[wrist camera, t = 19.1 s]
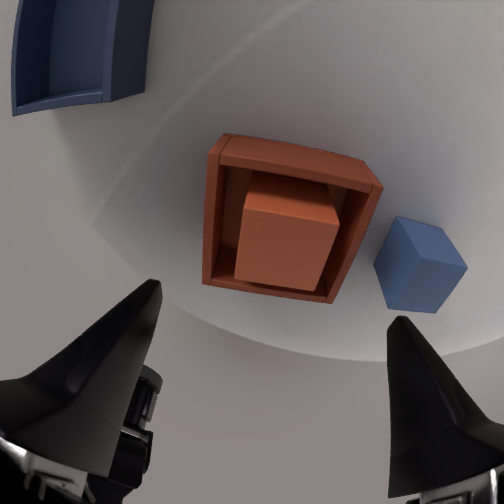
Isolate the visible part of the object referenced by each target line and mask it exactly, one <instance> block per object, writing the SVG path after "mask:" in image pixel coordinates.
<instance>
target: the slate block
mask: <svg viewBox="0 0 504 504" xmlns="http://www.w3.org/2000/svg"><path fill="white" fill-rule="evenodd" d="M374 268H375V271H376V274H377V277H378V280H379V283H380V286H381V289H382V292H383V295H384V298H385V301H386V304H387V308H388V309H392V310H402V311H413V312H424V313H436V312H437V311H438V309H439V308H440V307H441V306H442V304H443V303H444V302H445V300H446V299H447V298H448V296H449V295H450V294H451V292H452V291H453V289H454V288H455V287H456V285H457V284H458V282H459V281H460V279H461V278H462V276H463V275H464V273H465V272H466V270H467V269H468V267H467V265H466V263H465V262H464V260H463V259H462V257H461V256H460V254H459V253H458V251H457V250H456V248H455V247H454V245H453V244H452V242H451V241H450V240H449V238H448V237H447V235H446V234H445V233H444V231H443V230H442V229H440V228H437V227H434V226H430V225H427V224H423V223H420V222H416V221H413V220H409V219H405V218H402V217H398V216H396V218H395V221H394V223H393V225H392V227H391V229H390V232H389V234H388V236H387V238H386V240H385V242H384V244H383V246H382V248H381V251H380V253H379V255H378V257H377V259H376V261H375V263H374Z"/></svg>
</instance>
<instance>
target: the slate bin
mask: <svg viewBox="0 0 504 504" xmlns="http://www.w3.org/2000/svg"><path fill="white" fill-rule="evenodd" d="M153 5H154V0H19V4H18V9H17V15H16V21H15V28H14V36H13V46H12V62H11V99H12V115H13V117H14V116H17V115H22V114H27V113H32V112H37V111H42V110H48V109H54V108H60V107H67V106H75V105H83V104H93V103H102V102H103V103H105V102H112V101H115V100H119V99H122V98H125V97H128V96H132V95H135V94H139V93H143V92H144V89H145V73H146V60H147V49H148V40H149V32H150V24H151V17H152V11H153Z"/></svg>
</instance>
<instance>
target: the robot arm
mask: <svg viewBox="0 0 504 504" xmlns="http://www.w3.org/2000/svg"><path fill="white" fill-rule="evenodd" d="M162 299H163V295H162V288H161V283H160V281H159V280H154V279H148V280H147V281H146V282H144V283H143V284H142V285H140V286H139V287H138V288H137V289H136V290H134V291H133V292H132V293H131V294H129V295H128V296H127V297H126V298H124V299H123V300H122V301H121V302H119V303H118V304H117V305H116V306H115V307H113V308H112V309H111V310H110V311H108V312H107V313H106V314H105V315H104V316H103V317H101V318H100V319H99V320H98V321H96V322H95V323H94V324H93V325H92V326H91V327H89V328H88V329H87V330H86V331H85V332H84V333H82V336H81V335H80V336H79V337H78V338H76V339H75V340H74V341H73V342H72V343H70V344H69V345H68V346H67V347H66V348H64V349H63V350H62V351H61V352H59V353H58V354H56V355H55V356H54V357H52V358H51V359H50V360H48V361H47V362H45V363H44V364H42V365H41V366H40V367H38V368H37V369H36V370H34V371H33V372H31V373H30V374H28V375H26V376H24V377H22V378H18V379H11V380H3V381H0V504H122V500H123V498H124V497H125V496H126V495H128V494H129V493H130V492H131V491H132V490H133V489H137V488H138V487H139V486H140V485H141V483H142V475H143V474H145V473H146V471H147V469H148V466H149V463H150V456H151V447H152V439H153V432H151V431H146V430H144V428H145V424H146V421H147V422H150V421H151V418H152V414H153V411H154V407H155V403H156V400H157V395H156V393H155V391H154V388H153V386H152V384H151V382H150V380H149V379H147V378H144V377H140V376H139V374H140V371H141V368H142V365H143V363H144V360H145V357H146V354H147V352H148V349H149V346H150V344H151V341H152V338H153V334H154V330H155V327H156V323H157V319H158V315H159V311H160V307H161V304H162ZM387 367H388V368H387V370H388V382H389V397H390V422H391V452H390V454H391V456H390V476H389V489H388V498H395V497H401V496H406V495H411V494H416V493H420V497H418V498H415V499H412V500H409V501H407V502H406V504H504V425H502V424H499V423H495V422H493V421H491V420H490V419H488V418H487V417H486V416H485V414H484V413H483V412H482V411H481V409H480V408H479V407H478V406H477V405H476V403H475V402H474V401H473V400H472V398H471V397H470V396H469V395H468V393H467V392H466V391H465V390H464V388H463V387H462V386H461V384H460V383H459V381H458V380H457V379H456V378H455V376H454V375H453V373H452V372H451V371H450V369H449V368H448V367H447V365H446V364H445V363H444V361H443V360H442V359H441V358H440V356H439V355H438V354H437V352H436V351H435V350H434V349H433V347H432V346H431V345H430V344H429V342H428V341H427V340H426V339H425V337H424V336H423V335H422V334H421V333H420V331H419V330H418V329H417V328H416V327H415V325H414V324H413V323H412V322H411V321H410V319H409V318H408V317H406V316H397V317H396V318H395V320H394V321H393V322H392V324H391V325H390V326H389V328H388V330H387ZM121 430H123V431H126V432H128V433H131V434H133V435H136V436H139V438H137V437H135V436H132V435H129V434H127V433H124V432H122V431H121Z"/></svg>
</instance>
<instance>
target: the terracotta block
mask: <svg viewBox="0 0 504 504" xmlns="http://www.w3.org/2000/svg"><path fill="white" fill-rule="evenodd" d="M339 226H340V223H339V220H338V217H337V214H336V211H335V208H334V205H333V202H332V199H331V196H330V193H329V190H328V188H327V185H325V184H320V183H315V182H310V181H306V180H300V179H295V178H290V177H285V176H279V175H273V174H268V173H262V172H255V171H253V172H252V175H251V179H250V183H249V187H248V191H247V195H246V199H245V203H244V208H243V215H242V222H241V229H240V237H239V244H238V252H237V260H236V267H235V275H234V278H235V279H237V280H243V281H249V282H256V283H262V284H268V285H275V286H282V287H288V288H295V289H302V290H309V291H314V290H315V288H316V286H317V283H318V281H319V278H320V276H321V273H322V271H323V268H324V266H325V263H326V261H327V258H328V256H329V253H330V250H331V248H332V245H333V243H334V240H335V237H336V235H337V232H338V229H339Z"/></svg>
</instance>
